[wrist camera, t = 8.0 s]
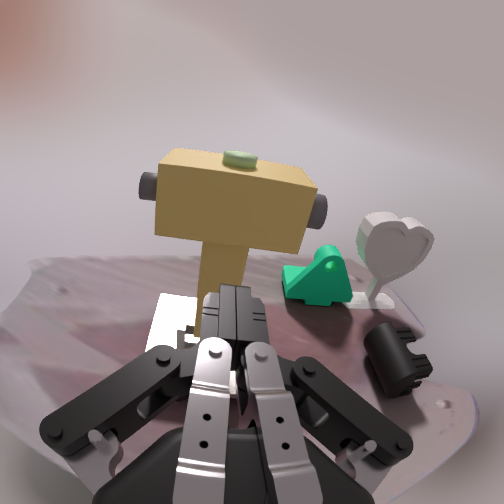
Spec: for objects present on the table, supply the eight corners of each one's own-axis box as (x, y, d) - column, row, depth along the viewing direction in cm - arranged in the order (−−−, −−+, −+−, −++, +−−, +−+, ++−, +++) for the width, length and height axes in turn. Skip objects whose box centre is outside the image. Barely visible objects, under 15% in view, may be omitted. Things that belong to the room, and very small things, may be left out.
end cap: (354, 351, 40) (374, 321, 36) (388, 349, 41) (408, 320, 38) (376, 404, 31) (402, 376, 28) (411, 396, 33) (437, 369, 29)
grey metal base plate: (141, 395, 27) (134, 367, 24) (161, 308, 40) (161, 276, 37) (270, 407, 30) (284, 382, 27) (260, 320, 42) (269, 290, 39)
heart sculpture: (339, 308, 49) (378, 218, 39) (330, 290, 53) (364, 204, 44) (401, 308, 51) (441, 233, 42) (391, 293, 56) (426, 220, 47)
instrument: (139, 336, 28) (133, 150, 18) (150, 300, 33) (155, 137, 23) (281, 352, 31) (343, 184, 21) (275, 315, 36) (322, 164, 26)
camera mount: (337, 281, 55) (353, 237, 50) (348, 307, 48) (368, 259, 43) (279, 276, 54) (291, 227, 48) (284, 302, 47) (298, 250, 42)
